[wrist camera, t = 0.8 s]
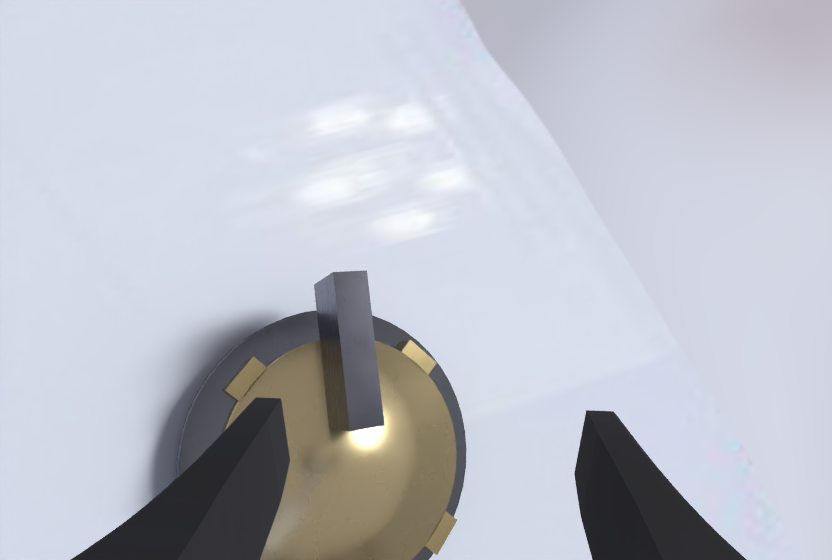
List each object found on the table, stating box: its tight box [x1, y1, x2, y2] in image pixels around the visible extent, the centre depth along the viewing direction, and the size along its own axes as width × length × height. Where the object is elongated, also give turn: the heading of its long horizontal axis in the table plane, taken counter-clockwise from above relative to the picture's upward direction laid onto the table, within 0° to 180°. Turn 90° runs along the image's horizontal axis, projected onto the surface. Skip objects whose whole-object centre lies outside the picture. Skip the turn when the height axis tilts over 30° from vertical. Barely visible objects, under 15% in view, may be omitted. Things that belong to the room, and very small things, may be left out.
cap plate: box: [177, 311, 466, 560], centre depth 28 cm, size 14×14×1 cm
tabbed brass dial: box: [221, 271, 457, 560], centre depth 25 cm, size 12×12×4 cm
